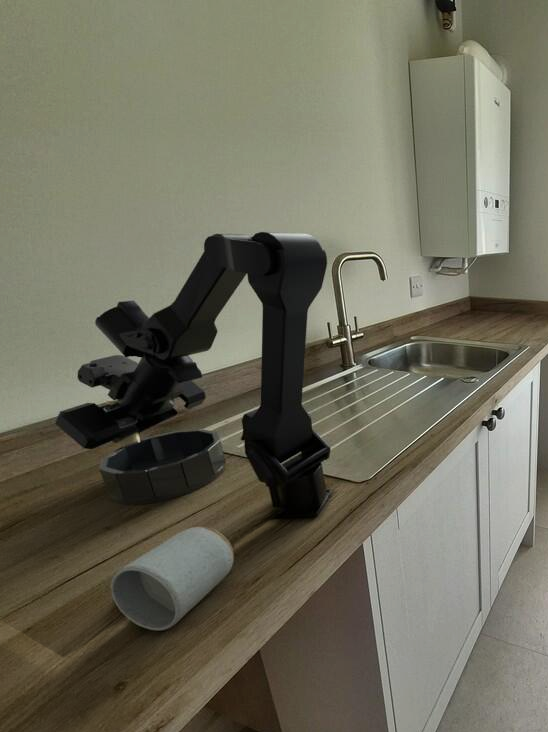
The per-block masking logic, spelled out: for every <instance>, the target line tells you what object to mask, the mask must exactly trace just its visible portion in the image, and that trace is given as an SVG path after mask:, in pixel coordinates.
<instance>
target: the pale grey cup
mask: <svg viewBox="0 0 548 732" xmlns="http://www.w3.org/2000/svg"><path fill="white" fill-rule="evenodd" d="M233 549H234V548H233V546H232V544H231V543H230V541H229V540H228V539H227V537H226V536H224V534H222V533H221V532H219V531H218V530H216V529H215V528H211V527H209V526H204V525H198V526H193V527H190V528H187V529H184V530H183V531H180V532H178V533H176V534H175V535H173V536H171V537H170V538H168V539H167V540H166V541H164V542H162V543H161V544H159V545H158V546H157V545H156V547H154V548H152V549H151V550H149V551H148V552H146V553H144V554H142V555H141V556H139V557H138V558H136V559H134V560H133V561H131V562H129V563H128V564H126V565H125V566H123V567H121V568H120V569H119V570H118V571H117V572H116V573H115V574H114V575H113V576H112V578H111V581H110V593H111V598H112V599H113V602H114V603H115V605H116V606H117V608H118V610H119V611H120V612H121V613H122V614H123V615H124V616H125V617H126V618H127V619H128V620H129V621H130V622H132V623H134V624H135V625H137V626H139V627H141V628H143V629H147V630H150V631H160V632H161V631H165V630H168V629H171V628H172V627H173V626H175V625H176V624H177V623H178V622H179V621H181V620H182V618H183V617H184V616H186V614H188V613H189V612H190V611H191V610H192V609H193V608H194V607H195V606H196V605H197V604H199V602H201V600H203V599H204V597H206V596H207V595H208V594H209V593H210V592H211V591H212V590H213V589H215V588H216V586H218V585H219V584H220V583H221V582H222V581H223V580H224V579H225V578H226V576H227V575H228V574H229V572H230V571H231V569H232V567H233V566H234V562H235V552H234V550H233Z"/></svg>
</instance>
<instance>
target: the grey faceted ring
mask: <svg viewBox="0 0 548 732" xmlns="http://www.w3.org/2000/svg"><path fill="white" fill-rule="evenodd" d="M118 402H119V401H118V400H113V399H112V398H110V397H109V398H107V399H106V405H107V404H111V405H112V404H115V403H118ZM134 425H135V424H134ZM135 426H136V425H135ZM219 435H220V434H219V433H218V432H217V431H213V430H208V429H204V428H200V429H199V428H197V429H186V430H185V429H183V430H175V431H170V432H165V433H161V434H155V435H151V436H148V437H145V438H142V439H141V437H140V433H139V434H138V432H136V433H134V434H132V435H131V436H129V437H127V438H125V439H123V440H122V441H120V442H119V443H120V445H121V446H120V447H118V448H117V449H115V450H114V451H112V452H111V453H109V454H108V455H106V456H104V457H103V458H101V461H100V463H99V468H98V471H99V473H100V475H101V478H102V481H103V483H104V486H105V489H106V491H107V494H108V496H110V497H111V499H112V500H113V501H114V502H115V503H118V504H121V505H129V506H137V505H139V506H140V505H149V504H154V503H159V502H164V501H169V500H171V499H175V498H178V497H183V496H185V495H187V494H190V493H192V492H194V491H197V490H199V489H201V488H204V487H205V486H207V485H209V484H210V483H212V482H213V481H215V480H216V479H217V478H219V477H220V476H221V475H222V474H223V473H224V472H225V470H226V469H227V461H226V458H225V453H224V450H223V446H222V442H221V438H220V436H219Z"/></svg>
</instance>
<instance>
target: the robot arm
mask: <svg viewBox="0 0 548 732" xmlns="http://www.w3.org/2000/svg"><path fill="white" fill-rule="evenodd" d="M327 268H328V256H327V252H326V250H325V249H323V247H322V245H321V243H320V242H319V241H318V240H317V239H316V237H314V236H313V235H311V234H309V233H302V232H280V231H279V232H277V231H259V232H256V233H254V234H253V235H252V236H249V235H247V234H242V233H241V234H237V233H214V234H212V235H209V236H207V237H206V238H205V240H204V242H203V253H202V254H201V256H200V257H199V259H198V261H197V263H196V264H195V265H194V267H193V269H192V271H191V273H190V274H189V276H188V277H187V279H186V281H185V283H184V284H183V286H182V287H181V289H180V291H179V292H178V294H177V295H176V297H175V299H174V301H173V302H172V303H171V304H170V305H168V306H166V307H164V308H162V309H160V310H158V311H155V312H154V313H153V314H152V315H151V316H148V315H147V314H146V312H145V311H143V309H142V307H140V305H139V304H138V303H137V302H136V300H124V301H118V302H117V305H116V306H114V307H112V308H109V309H108V310H106V311H104V312H103V313H102V314H100V315H99V316H97V317H96V318H95V322H94V323H95V326H96V327H97V328H98V329H99V330H100V331H101V333H102V334H103V335H104V336H105V337H106V338H107V339H108V340H109V341H110V342H111V343H112V344H113V346H114V347H115V348H116V349H117V350H118V351H119V352H120V353H121V354H122V355H121V354H115V355H114V354H113V355H110V356H106V357H101V358H96V359H94V360H91V361H90V362H88V363H84V364H82V365H81V366H80V367H79V369H78V370H77V380H78V381H79V382H80V383H82V384H83V385H86V386H88V387H89V388H92V389H93V388H96V387H102V388H105V389H106V390H109V391H108V393H107V397H108V398H109V399H110V398H112V399H113V400H118V401H119V402H118V403H115V404H112V405H111V404H107V403H106V404H105V405H101V406H99V405H97V404H96V403H95V402H86V403H83V404H80V405H76V406H73V407H70V408H66V409H63V410H60V411H59V413H58V415H57V418H56V420H55V422H54V425H56V427H58V428H59V429H60V430H62V431H63V432H64V433H65V434H67V436H69V437H70V439H72V440H73V441H75V442H76V443H77V444H78V445H79V446H80V447H82V448H83V449H84V450H94V449H96V448H98V447H101V446H104V445H106V444H108V443H111V442H113V444H118V443H121V442H120V441H122V440H123V439H125V438H127V437H129V436H131V435H132V434H134V433H136V432H138V434H139V435H140V433H143V432H145V431H148V430H149V429H151V428H153V427H155V426H157V425H159V424H161V423H163V422H166V421H168V420H170V419H172V418H174V417H177V415H178V414H179V412H178V410H176V409H175V408H174V407H175V400H174V399H178V398H180V399H181V400H182V401H183V402H184V403H185V404H184V405H183V408H185V409H187V410H191V409H194V408H196V407H198V406H201V405H202V404H203V403H204V402H205V400H206V398H207V395H206V392H205V390H204V389H203V388H201V386H199V384H197V382H195V380H198V379H202V378H203V374H202V371H201V369H200V368H199V367H198V364H197V362H196V361H194V360H193V359H192V358H191V357H190V356H191V355H196V354H201V353H204V352H207V351H209V350H211V348H212V347H213V344H214V341H215V339H216V337H217V335H218V328H217V326H216V323H215V322H216V319H217V318H218V316H219V315H220V314H221V312H222V311H223V309H224V308H225V306H226V305H227V303H228V302H229V301H230V299H231V297H232V296H233V295H234V293H235V292H236V290H237V289H238V287H239V286H240V284H241V283H242V282H243V280H244V279H245V277H246V276H247V282H248V285H249V286H250V287H251V289H252V290H253V292H254V293H255V294H256V296H257V298H258V299H259V301H260V302H261V305H262V319H261V320H262V323H261V324H262V325H261V327H262V328H261V366H260V367H261V371H260V372H261V373H260V375H261V376H260V404H259V406H258V408H256V409H253V410H251V411H249V412H246V413H243V415H242V419H241V424H242V426H241V427H242V434H241V437H240V440H241V441H244V445H243V447H244V454H245V456H246V458H247V460H248V462H249V464H250V465H251V467H252V469H253V470H252V471H253V472H254V473H255V475H256V477H257V479H258V481H259V482H260V483H265V486H266V487H267V488H268V491H269V496H270V501H271V504H272V507H275V508H281V509H282V511H280V512H279V513H277V514H276V515H274V516H273V517H272V518H271V519H272V520H281V519H282V520H284V519H305V518H306V519H307V518H316V517H318V516H319V515H320V513H321V511H322V510H323V508H324V506H326V503H327V502H328V500H329V498H330V496H332V489H327V487H326V486H327V485H326V480H325V474H324V468H323V462H325V461H327V460H328V459H330V455H331V447H330V445H328V444H327V442H326V441H325V440H324V439H323V438H322V437H321V436H320V435H319V434H318V432H316V431H315V429H314V428H313V421H312V417H311V416H310V414H309V413H308V411H307V410H306V409H305V407H304V406H303V387H304V374H305V373H304V372H305V358H306V357H305V356H306V344H307V343H306V342H307V329H308V328H307V327H308V326H307V325H308V314H309V313H308V312H309V309H310V307H311V305H312V304H313V302H314V301H315V299H316V297H317V296H318V295H319V293H320V291H321V290H322V288H323V284H324V280H325V276H326V271H327ZM130 357H131V358H132V357H136V358H140V359H139V362H137V361H135V360H134V359H131V358H130ZM134 424H135V425H136V426H135V425H134Z"/></svg>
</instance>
